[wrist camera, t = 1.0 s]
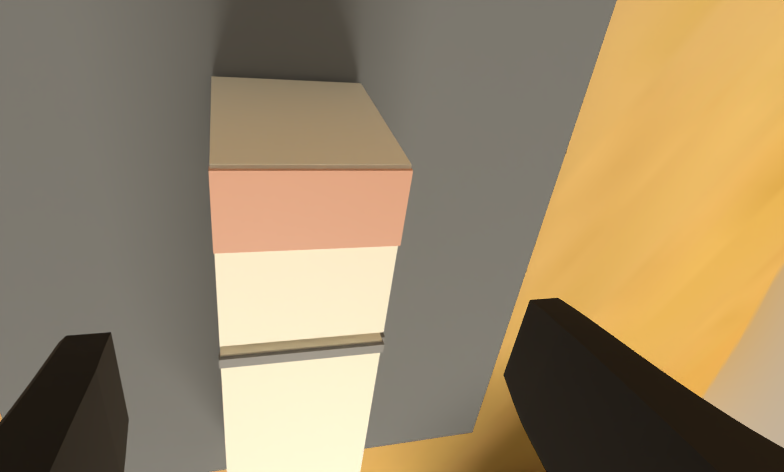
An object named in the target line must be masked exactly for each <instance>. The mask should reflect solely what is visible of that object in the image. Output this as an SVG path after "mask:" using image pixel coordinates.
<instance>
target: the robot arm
mask: <svg viewBox="0 0 784 472" xmlns="http://www.w3.org/2000/svg"><path fill="white" fill-rule="evenodd" d="M504 377H505V380H506V383H507V386H508V389H509V392H510V394H511V397H512V400H513V403H514V405H515V408H516V410H517V413H518V415H519V418H520V421H521V423H522V425H523V427H524V429H525V431H526V433H527V435H528V437H529V439H530V441H531V443H532V445H533V447H534V449H535V451H536V453H537V455H538V456H539V458H540V460H541V462H542V464H543V466H544V468H545V470H546V472H784V448H782V447H780V446H779V445H777V444H775V443H774V442H772V441H770V440H768V439H767V438H765V437H763V436H762V435H760V434H758V433H756V432H755V431H753V430H751V429H749V428H748V427H746V426H745V425H743V424H741V423H740V422H738V421H736V420H735V419H733V418H732V417H730V416H729V415H727V414H726V413H724V412H722V411H721V410H719V409H718V408H716V407H715V406H713V405H712V404H710V403H709V402H707V401H706V400H704V399H702V398H701V397H699V396H698V395H696V394H695V393H693V392H692V391H690V390H689V389H687V388H686V387H684V386H683V385H681V384H680V383H679V382H677V381H676V380H674V379H673V378H671V377H670V376H668V375H667V374H666V373H664V372H663V371H661V370H660V369H658V368H657V367H656V366H654V365H653V364H651V363H650V362H648V361H647V360H646V359H644V358H643V357H641V356H640V355H639V354H637V353H636V352H634V351H633V350H632V349H630V348H629V347H628V346H626V345H625V344H623V343H622V342H621V341H619V340H618V339H616V338H615V337H614V336H612V335H611V334H610V333H608V332H607V331H605V330H604V329H603V328H601V327H600V326H599V325H597V324H596V323H594V322H593V321H591V320H590V319H589V318H587V317H586V316H584V315H583V314H582V313H580V312H579V311H577V310H576V309H574V308H573V307H571V306H570V305H568V304H567V303H565V302H564V301H562V300H561V299H559V298H550V299H537V300H530V301H529V304H528V307H527V310H526V313H525V315H524V318H523V321H522V324H521V327H520V330H519V333H518V335H517V338H516V341H515V344H514V347H513V350H512V352H511V355H510V358H509V361H508V364H507V367H506V369H505V372H504ZM128 424H129V417H128V413H127V408H126V403H125V398H124V393H123V388H122V383H121V378H120V373H119V368H118V364H117V359H116V354H115V349H114V344H113V339H112V334H111V332H106V333H93V334H80V335H67V336H65V337H64V338H63V339H62V340H61V341H60V342H59V343H58V344H57V346H56V347H55V348H54V350H53V351H52V353H51V354H50V356H49V357H48V358H47V360H46V361H45V363H44V364H43V365H42V367H41V368H40V370H39V371H38V372H37V374H36V375H35V376H34V378H33V379H32V381H31V382H30V383H29V385H28V386H27V387H26V389H25V390H24V391H23V393H22V394H21V395H20V397H19V398H18V399H17V401H16V402H15V403H14V405H13V406H12V407H11V409H10V410H9V411H8V413H7V414H6V415H5V416H4V418H3V419H2V420H1V422H0V472H124V468H125V458H126V447H127V435H128Z"/></svg>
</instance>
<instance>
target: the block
mask: <svg viewBox="0 0 784 472" xmlns="http://www.w3.org/2000/svg"><path fill="white" fill-rule="evenodd" d="M411 165H412V164H411V163H410V161H409V160H408V158H407V156H406V155H405V153H404V151H403V150H402V148H401V147H400V145H399V143H398V142H397V140H396V139H395V137H394V135H393V134H392V132H391V131H390V129H389V127H388V126H387V124H386V123H385V121H384V119H383V118H382V116H381V115H380V113H379V111H378V110H377V108H376V107H375V105H374V103H373V102H372V100H371V99H370V97H369V95H368V94H367V92H366V91H365V89H364V87H363V86H362V84H361V83H345V82H324V81H302V80H281V79H260V78H238V77H217V76H211V116H210V157H209V169H208V172H209V189H210V206H211V223H212V240H213V254H214V255H215V272H216V290H217V308H218V325H219V343H220V347H221V346H232V345H244V344H255V343H266V342H278V341H289V340H300V339H312V338H323V337H334V336H346V335H357V334H368V333H380V332H384V327H385V321H386V315H387V309H388V303H389V297H390V291H391V285H392V279H393V273H394V267H395V261H396V255H397V249H398V246H400V245H401V239H402V233H403V227H404V221H405V216H406V210H407V204H408V198H409V192H410V186H411V180H412V174H413V170H412V168H411Z"/></svg>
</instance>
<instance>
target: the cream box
mask: <svg viewBox="0 0 784 472" xmlns="http://www.w3.org/2000/svg"><path fill="white" fill-rule="evenodd" d="M384 340H385V336H384V333H383V332H380V333H368V334H357V335H346V336H334V337H323V338H312V339H300V340H289V341H278V342H266V343H255V344H244V345H232V346H221V347H220V353H219V369H221V378H222V395H223V413H224V430H225V448H226V466H227V472H360V470H361V464H362V458H363V452H364V446H365V440H366V434H367V428H368V422H369V416H370V410H371V404H372V398H373V392H374V386H375V380H376V374H377V368H378V362H379V356H380V353H383V350H384Z"/></svg>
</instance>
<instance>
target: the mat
mask: <svg viewBox="0 0 784 472" xmlns="http://www.w3.org/2000/svg"><path fill="white" fill-rule="evenodd" d="M616 1H617V0H0V414H1V416H2V419H3V418H4V416H5V415H6V414H7V413H8V411H9V410H10V409H11V407H12V406H13V405H14V403H15V402H16V401H17V399H18V398H19V397H20V395H21V394H22V393H23V391H24V390H25V389H26V387H27V386H28V385H29V383H30V382H31V381H32V379H33V378H34V376H35V375H36V374H37V372H38V371H39V370H40V368H41V367H42V365H43V364H44V363H45V361H46V360H47V358H48V357H49V356H50V354H51V353H52V351H53V350H54V348H55V347H56V346H57V344H58V343H59V342H60V341H61V340H62V339H63V338H64V337H65V336H67V335H80V334H93V333H106V332H111V334H112V339H113V344H114V349H115V354H116V359H117V364H118V368H119V373H120V378H121V383H122V388H123V393H124V398H125V403H126V408H127V413H128V417H129V424H128V435H127V447H126V458H125V468H124V472H212V471H218V470H225V469H227V466H226V448H225V430H224V413H223V395H222V378H221V369H219V353H220V343H219V325H218V308H217V290H216V272H215V255H214V254H213V240H212V223H211V206H210V189H209V172H208V169H209V157H210V116H211V76H217V77H238V78H260V79H281V80H302V81H324V82H345V83H361V84H362V86H363V87H364V89H365V91H366V92H367V94H368V95H369V97H370V99H371V100H372V102H373V103H374V105H375V107H376V108H377V110H378V111H379V113H380V115H381V116H382V118H383V119H384V121H385V123H386V124H387V126H388V127H389V129H390V131H391V132H392V134H393V135H394V137H395V139H396V140H397V142H398V143H399V145H400V147H401V148H402V150H403V151H404V153H405V155H406V156H407V158H408V160H409V161H410V163H411V164H412V165H411V168H412V170H413V174H412V180H411V186H410V192H409V198H408V204H407V210H406V216H405V221H404V227H403V233H402V239H401V245H400V246H398V249H397V255H396V261H395V267H394V273H393V279H392V285H391V291H390V297H389V303H388V309H387V315H386V321H385V327H384V332H383V333H384V336H385V340H384V350H383V353H380V356H379V362H378V368H377V374H376V380H375V386H374V392H373V398H372V404H371V410H370V416H369V422H368V428H367V434H366V440H365V446H364V449H365V448H372V447H378V446H385V445H392V444H398V443H405V442H412V441H418V440H425V439H432V438H438V437H445V436H452V435H458V434H465V433H472V432H473V429H474V426H475V423H476V420H477V417H478V414H479V411H480V408H481V405H482V402H483V399H484V396H485V393H486V390H487V387H488V384H489V381H490V378H491V375H492V372H493V369H494V366H495V363H496V360H497V357H498V354H499V351H500V348H501V345H502V342H503V339H504V336H505V333H506V330H507V327H508V324H509V321H510V318H511V315H512V312H513V309H514V306H515V303H516V300H517V297H518V294H519V291H520V288H521V285H522V282H523V279H524V276H525V273H526V270H527V267H528V264H529V261H530V258H531V255H532V252H533V249H534V246H535V243H536V240H537V237H538V234H539V231H540V228H541V225H542V222H543V219H544V216H545V213H546V210H547V207H548V204H549V201H550V198H551V195H552V192H553V189H554V186H555V183H556V180H557V177H558V174H559V171H560V168H561V165H562V162H563V159H564V156H565V153H566V150H567V147H568V144H569V141H570V138H571V135H572V132H573V129H574V126H575V123H576V120H577V117H578V114H579V111H580V108H581V105H582V102H583V99H584V97H585V94H586V91H587V88H588V85H589V82H590V79H591V76H592V73H593V70H594V67H595V64H596V61H597V58H598V55H599V52H600V49H601V46H602V43H603V40H604V37H605V34H606V31H607V28H608V25H609V22H610V19H611V16H612V13H613V10H614V7H615V4H616Z"/></svg>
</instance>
